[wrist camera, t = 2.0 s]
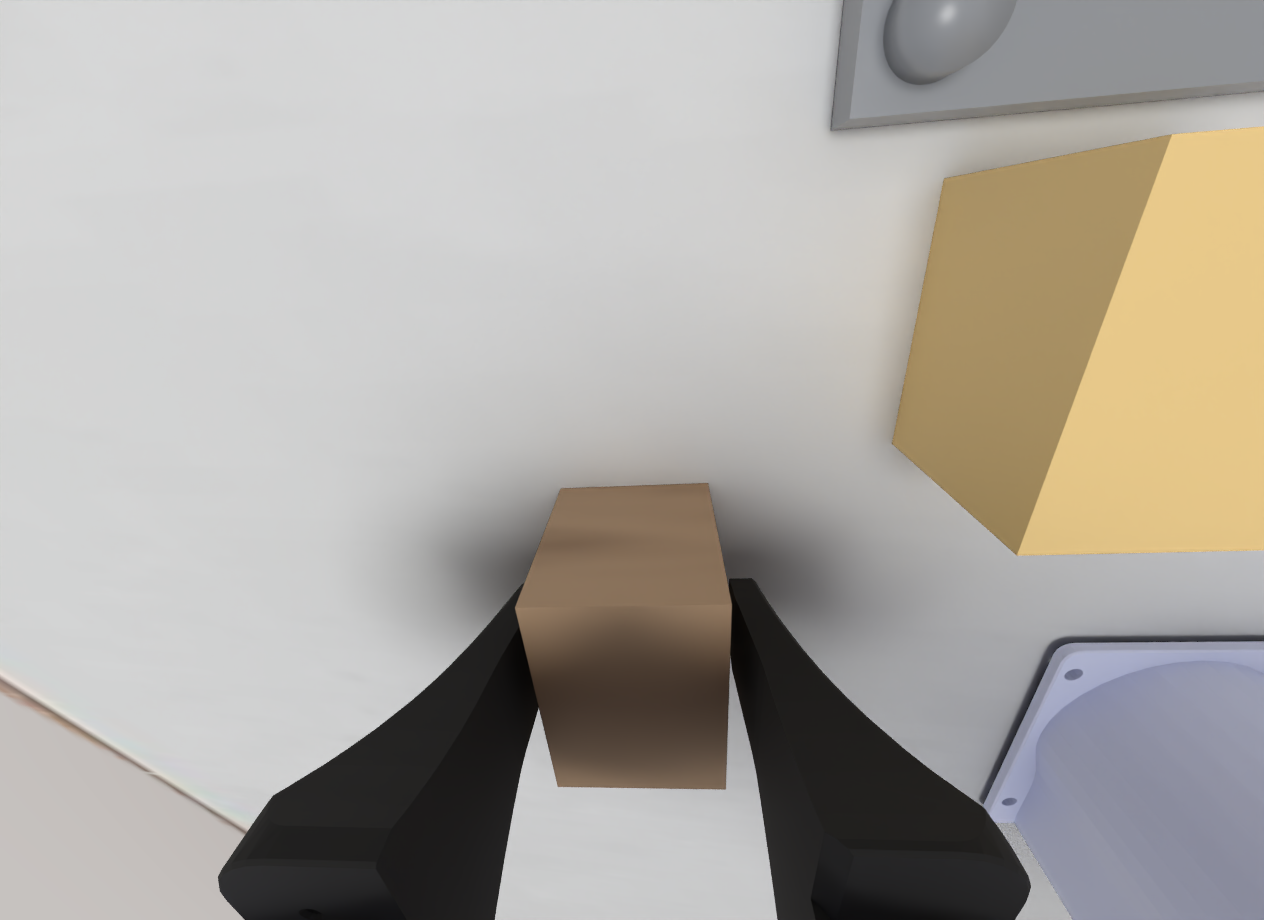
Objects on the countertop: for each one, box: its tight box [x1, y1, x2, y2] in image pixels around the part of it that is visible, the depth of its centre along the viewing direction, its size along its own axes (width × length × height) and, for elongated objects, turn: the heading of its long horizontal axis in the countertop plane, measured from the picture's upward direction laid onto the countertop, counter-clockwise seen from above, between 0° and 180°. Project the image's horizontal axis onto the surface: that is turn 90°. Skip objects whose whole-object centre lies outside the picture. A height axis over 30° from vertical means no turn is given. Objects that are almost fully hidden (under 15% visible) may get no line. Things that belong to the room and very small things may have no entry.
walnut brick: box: [515, 483, 732, 789], centre depth 12 cm, size 6×4×5 cm
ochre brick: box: [892, 127, 1264, 556], centre depth 9 cm, size 6×4×5 cm
